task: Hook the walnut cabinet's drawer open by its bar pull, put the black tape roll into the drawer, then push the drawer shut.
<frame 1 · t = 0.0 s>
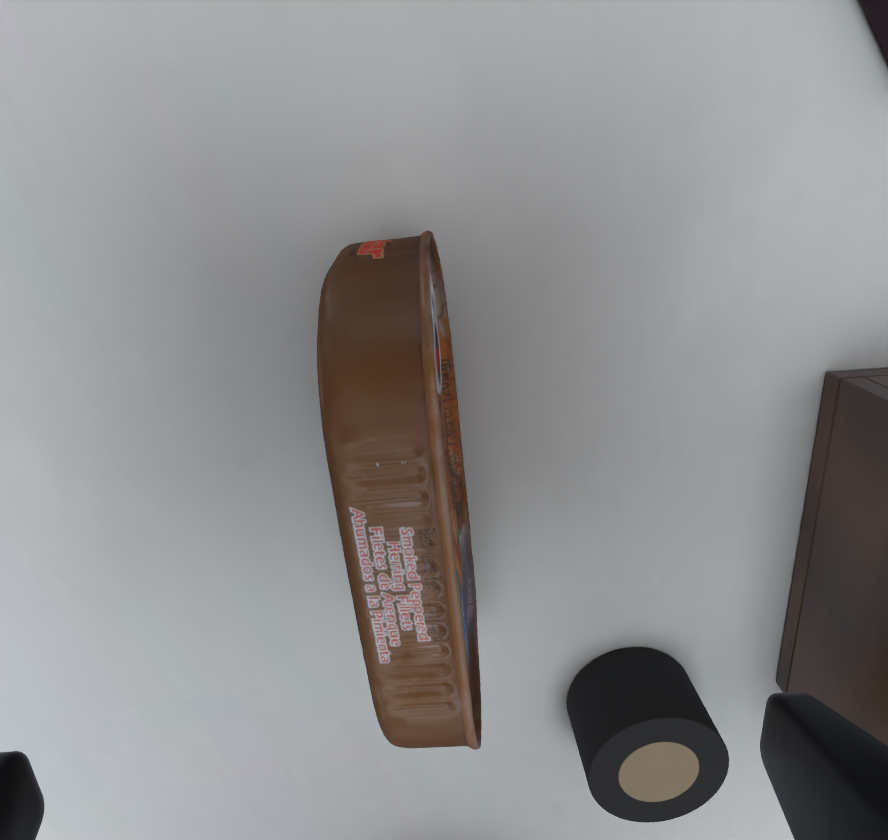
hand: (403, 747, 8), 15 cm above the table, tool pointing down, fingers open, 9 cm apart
tape: (628, 697, 27), on the table
tin: (416, 445, 22), on the table
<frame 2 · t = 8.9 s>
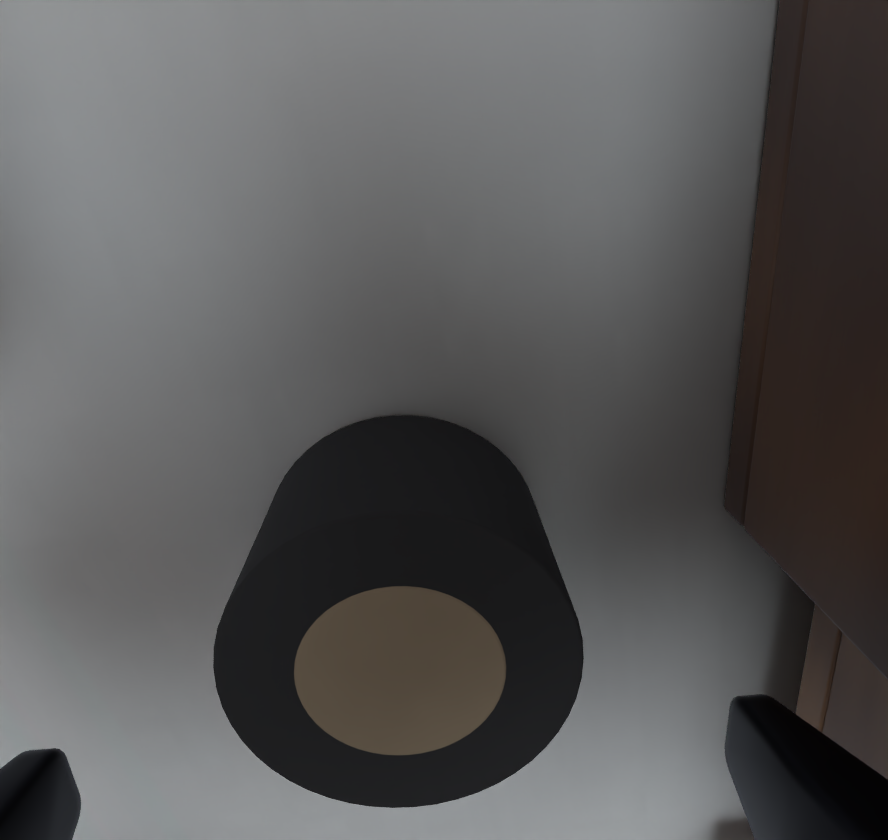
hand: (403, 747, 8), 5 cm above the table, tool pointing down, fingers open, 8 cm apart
tape: (404, 540, 12), on the table
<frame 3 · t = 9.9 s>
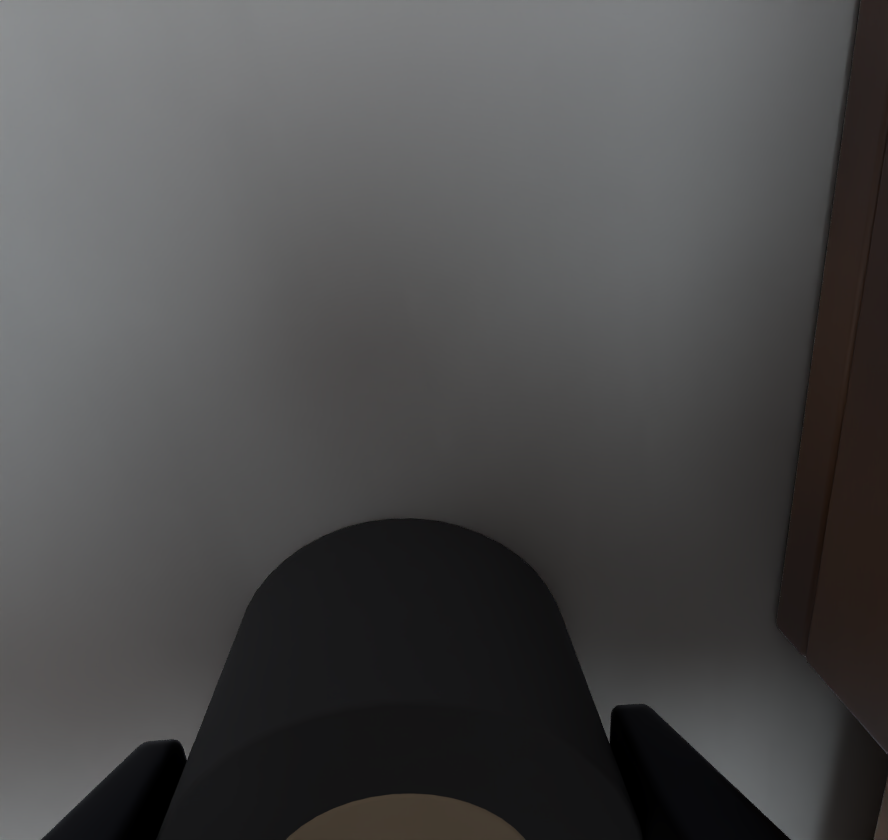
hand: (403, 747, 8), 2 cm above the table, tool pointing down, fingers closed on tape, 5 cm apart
tape: (403, 664, 10), on the table, touching gripper
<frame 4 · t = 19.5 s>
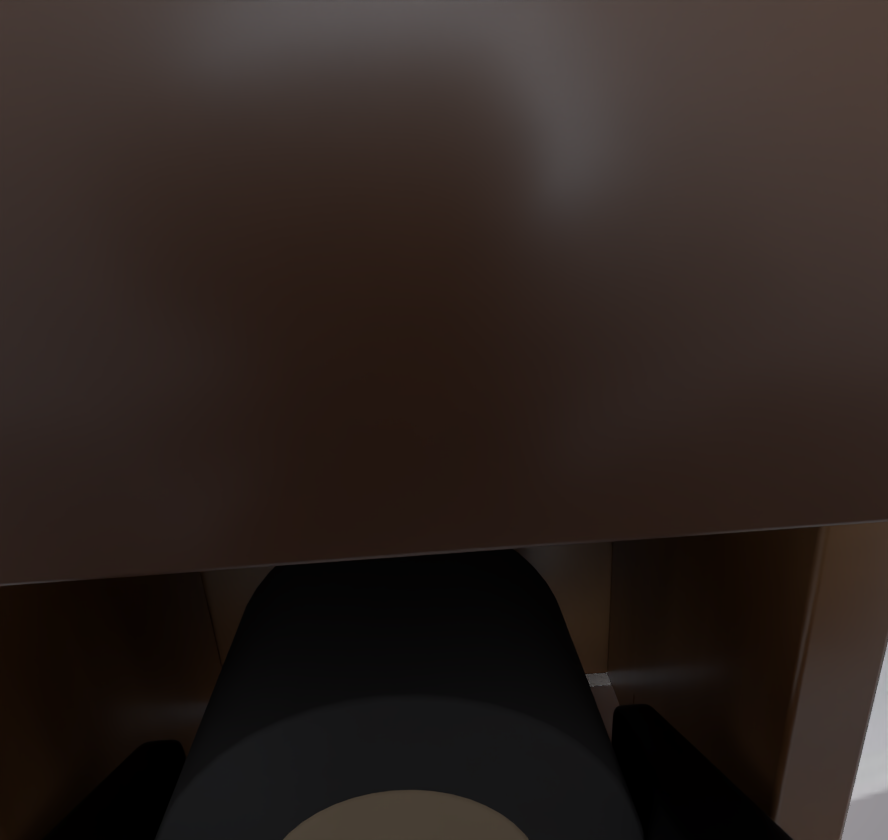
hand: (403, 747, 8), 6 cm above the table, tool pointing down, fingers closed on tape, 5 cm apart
tape: (404, 662, 10), point 4 cm above the table, touching gripper
drawer: (412, 715, 10), point 4 cm above the table, slide at 8.6 cm, touching gripper
when the fingers open (8 cm above the table, at t = 25.8 s): tape drops 4 cm, resting on drawer.
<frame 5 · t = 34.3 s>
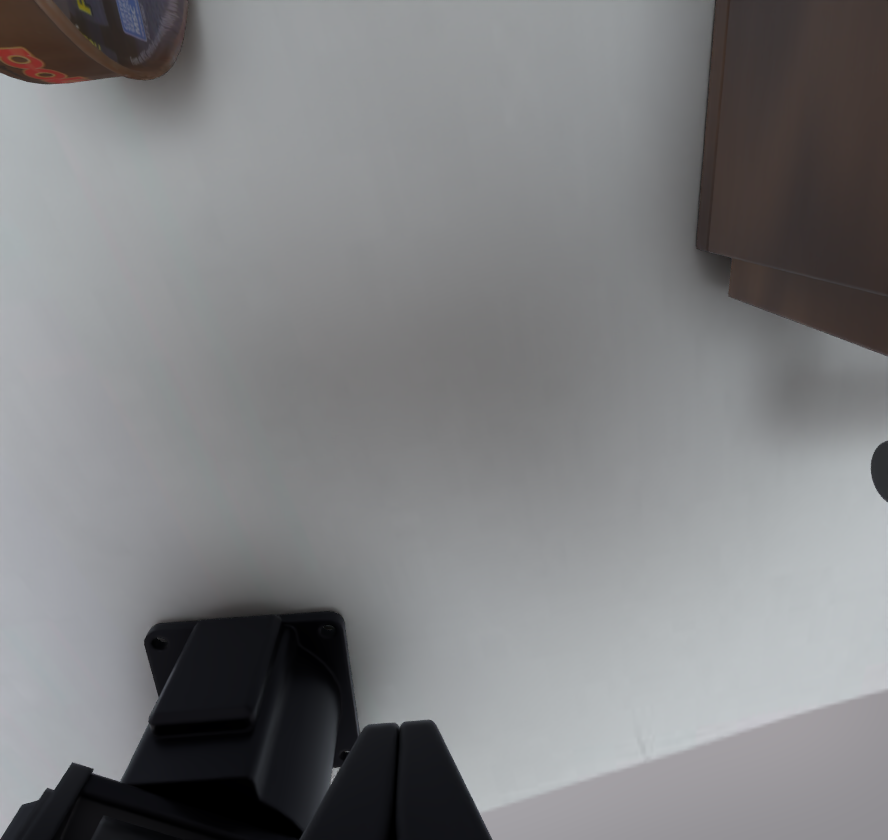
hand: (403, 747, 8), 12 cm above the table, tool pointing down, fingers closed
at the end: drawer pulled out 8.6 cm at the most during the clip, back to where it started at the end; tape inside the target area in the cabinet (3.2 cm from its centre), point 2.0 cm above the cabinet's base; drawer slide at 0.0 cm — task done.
